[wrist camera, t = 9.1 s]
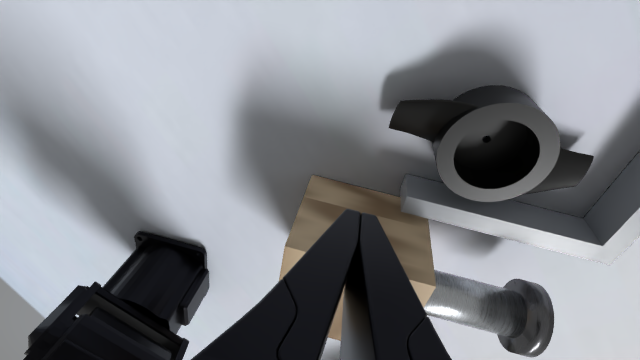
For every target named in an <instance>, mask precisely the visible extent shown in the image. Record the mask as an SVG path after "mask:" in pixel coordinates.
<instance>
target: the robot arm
mask: <svg viewBox="0 0 640 360" xmlns="http://www.w3.org/2000/svg"><path fill="white" fill-rule="evenodd" d="M134 238H135V243H136V248H137V249H136V250H135V251H134V252H133V253H132V254H131V256H130V257H129V258H128V259H127V260H126V261H125V262H124V264H123V265H122V266H121V267H120V268H119V269H118V270H117V271H116V273H115V274H114V275H113V276H112V277H111V278H110V279H109V281H108V282H107V283H106V284H105V285H104V286H103V287H101V285H100V284H99V283H97V282H94V283H93V284H92V285H91V287H90V288H89V287H88V286H87V287H85V286H79V285H78V286H77V287H76V288H75V289H74V290H73V291H72V292H71V293H70V295H69V296H68V297H67V298H66V299H65V300H64V301H63V302H62V303H61V304H60V305H59V306H58V307H57V308H56V309H55V310H54V311H53V312H52V313H51V314H50V315H49V316H48V317H47V318H46V319H45V320H44V321H43V322H42V323H41V324H40V325H39V326H38V327H37V328H36V329H35V330H34V331H33V332H32V333H31V334H30V335H29V336H28V346H29V349H28V350H27V351H26V352H25V353H24V354H26V355H27V356H26V357H25V358H24V359H23V360H182V359H183V357H184V354H185V352H186V349H187V346H188V344H189V341H188V340H187V339H185V338H181V337H180V336H178V335H176V334H177V332H178V330H179V329H180V327H181V325H184V326H186V325H188V324H189V323H190V321H191V319H192V318H193V316H194V314H195V312H196V311H197V309H198V307H199V305H200V303H201V302H202V300H203V298H204V296H206V294H207V292H208V289H209V271H208V269H207V253H206V251H205V250H204V249H203V248H200V247H197V246H193V245H189V244H186V243H182V242H178V241H174V240H171V239H167V238H163V237H160V236H156V235H152V234H149V233H145V232H141V231H139V232H137V234H136V235H135V236H134ZM344 286H345V287H344ZM343 289H344V296H343V313H342V330H341V347H340V360H452V359H451V358H450V356H449V354H448V353H447V351H446V349H445V347H444V345H443V344H442V342H441V340H440V338H439V336H438V334H437V333H436V331H435V329H434V327H433V325H432V323H431V321H430V319H429V317H427V313H426V311H425V310H424V308H423V306H422V304H421V302H420V300H419V298H418V296H417V294H416V292H415V290H414V288H413V286H412V284H411V282H410V280H409V278H408V276H407V274H406V272H405V271H404V269H403V267H402V265H401V263H400V261H399V259H398V257H397V255H396V253H395V251H394V249H393V247H392V245H391V243H390V241H389V239H388V237H387V235H386V234H385V232H384V230H383V228H382V226H381V224H380V222H379V220H378V218H377V216H376V215H373V214H368V213H364V212H363V213H360V212H359V211H356V210H352V209H346V210H344V211H343V213H342V214H341V215H340V216H339V217H338V218H337V219H336V220H335V221H334V222H333V223H332V225H331V226H330V227H329V228H328V229H327V230H326V231H325V232H324V233H323V234H322V235H321V237H320V238H319V239H318V240H317V241H316V242H315V243H314V244H313V245H312V246H311V247H310V249H309V250H308V251H307V252H306V253H305V254H304V255H303V256H302V257H301V258H300V259H299V260H298V262H297V263H296V264H295V265H294V266H293V267H292V268H291V269H290V270H289V271H288V272H287V274H286V275H285V276H284V277H283V279H281V280H280V281H279V282H278V283H277V284H276V285H275V286H274V287H273V289H272V290H271V291H270V292H269V293H268V294H267V295H266V296H265V297H264V298H263V299H262V300H261V301H260V302H259V303H258V304H257V305H255V306H254V307H253V308H252V309H251V310H250V311H249V312H247V313H246V314H245V315H244V316H243V317H242V318H241V319H239V320H238V321H237V322H236V323H235V324H233V325H232V326H231V327H230V328H229V329H227V330H226V331H225V332H224V333H223V334H221V335H220V336H219V337H218V338H217V339H215V340H214V341H213V342H212V343H210V344H209V345H208V346H207V347H206V348H204V349H203V350H202V351H201V352H200V353H198V354H197V355H196V356H195V357H193V358H192V359H191V360H320V359H321V356H322V353H323V350H324V347H325V344H326V341H327V338H328V335H329V332H330V329H331V326H332V323H333V320H334V317H335V314H336V311H337V308H338V305H339V302H340V299H341V296H342V293H343ZM76 314H77V315H79V317H76V316H75V315H76Z"/></svg>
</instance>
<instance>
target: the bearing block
mask: <svg viewBox="0 0 640 360" xmlns="http://www.w3.org/2000/svg"><path fill="white" fill-rule="evenodd" d="M346 209H352V210H356V211H359V212H360V213H363V212H364V213H368V214H373V215H376V216H377V218H378V220H379V222H380V224H381V226H382V228H383V230H384V232H385V234H386V235H387V237H388V239H389V241H390V243H391V245H392V247H393V249H394V251H395V253H396V255H397V257H398V259H399V261H400V263H401V265H402V267H403V269H404V271H405V272H406V274H407V276H408V278H409V280H410V282H411V284H412V286H413V288H414V290H415V292H416V294H417V296H418V298H419V300H420V302H421V304H422V306H423V308H424V306H425V305H426V303H427V301H428V300H429V298H430V296H431V295H432V293H433V291H434V290H435V288H436V282H435V273H434V265H433V257H432V249H431V241H430V232H429V224H428V218H424V217H420V216H416V215H412V214H408V213H404V212H401V197H397V196H393V195H390V194H386V193H382V192H378V191H374V190H370V189H366V188H362V187H358V186H354V185H350V184H347V183H343V182H339V181H335V180H331V179H327V178H323V177H319V176H315V175H312V176H311V179H310V181H309V184H308V187H307V189H306V192H305V194H304V197H303V200H302V202H301V205H300V208H299V210H298V213H297V215H296V218H295V221H294V223H293V226H292V229H291V231H290V234H289V237H288V239H287V242H286V244H285V248H284V254H283V260H282V266H281V272H280V278H279V281H280V280H281V279H283V277H284V276H285V275H286V274H287V272H288V271H289V270H290V269H291V268H292V267H293V266H294V265H295V264H296V263H297V262H298V260H299V259H300V258H301V257H302V256H303V255H304V254H305V253H306V252H307V251H308V250H309V249H310V247H311V246H312V245H313V244H314V243H315V242H316V241H317V240H318V239H319V238H320V237H321V235H322V234H323V233H324V232H325V231H326V230H327V229H328V228H329V227H330V226H331V225H332V223H333V222H334V221H335V220H336V219H337V218H338V217H339V216H340V215H341V214H342V213H343V211H344V210H346ZM344 287H345V286H344ZM343 296H344V289H343V293H342V296H341V299H340V302H339V305H338V308H337V311H336V314H335V317H334V320H333V323H332V326H331V329H330V332H329V335H328V337H329V338H332V339H336V340H340V341H341V330H342V313H343Z"/></svg>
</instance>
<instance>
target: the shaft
mask: <svg viewBox="0 0 640 360" xmlns="http://www.w3.org/2000/svg"><path fill="white" fill-rule="evenodd" d="M434 273H435V282H436V288H435V290H434V291H433V293H432V295H431V296H430V298H429V300H428V301H427V303H426V305H425V306H424V310H425V311H426V313H427V315H429V316H433V317H436V318H440V319H444V320H447V321H451V322H455V323H458V324H462V325H466V326H469V327H473V328H477V329H480V330H484V331H488V332H491V333H495V334H497V335H498V338H499V340H500V342H501V344H502V346H503V347H504V348H505V349H506V350H508V351H509V352H512V353H516V354H519V355H523V356H527V357H536V356H538V355H540V354H541V353H542V352H543V351H544V350H545V349H546V348H547V346H548V344H549V342H550V340H551V337H552V333H553V328H554V311H553V306H552V302H551V299H550V297H549V295H548V293H547V292H546V290H545V289H544V288H543V287H542V286H540V285H539V284H536V283H533V282H529V281H525V280H521V279H513V280H511V281H509V282H508V283H507V284H506V285H505V286H504V287H503V288H501V287H498V286H494V285H490V284H486V283H483V282H479V281H475V280H471V279H468V278H464V277H460V276H456V275H453V274H449V273H445V272H441V271H437V270H434Z"/></svg>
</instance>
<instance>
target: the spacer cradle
mask: <svg viewBox="0 0 640 360" xmlns="http://www.w3.org/2000/svg"><path fill="white" fill-rule="evenodd" d="M400 197H401V212H404V213H408V214H412V215H416V216H420V217H424V218H428V219H432V220H435V221H439V222H443V223H447V224H451V225H455V226H459V227H463V228H466V229H470V230H474V231H478V232H482V233H486V234H490V235H494V236H497V237H501V238H505V239H509V240H513V241H517V242H521V243H525V244H528V245H532V246H536V247H540V248H544V249H548V250H552V251H556V252H559V253H563V254H567V255H571V256H575V257H579V258H583V259H587V260H590V261H594V262H598V263H602V264H606V265H611V264H612V263H613V262H614V261H615V260H616V259H617V258H618V257H619V256H620V255H621V254H622V253H623V252H624V251H625V250H626V249H627V248H628V247H630V246H631V245H632V244H633V243H634V242H635V241H636V240H637V239H638V238H639V237H640V151H639V153H638V154H637V155H636V156H635V157H634V159H633V160H632V161H631V162H630V163H629V164H628V166H627V167H626V168H625V169H624V170H623V172H622V173H621V174H620V175H619V176H618V178H617V179H616V180H615V181H614V182H613V183H612V185H611V186H610V187H609V188H608V189H607V191H606V192H605V193H604V194H603V195H602V196H601V198H600V199H599V200H598V201H597V202H596V204H595V205H594V206H593V207H592V208H591V210H590V211H589V212H588V213H587V214H586V215H585V217H584V218H580V217H576V216H572V215H568V214H564V213H560V212H556V211H552V210H548V209H544V208H540V207H536V206H532V205H528V204H524V203H520V202H516V201H512V200H508V199H507V200H503V201H496V202H481V201H474V200H470V199H467V198H464V197H462V196H460V195H458V194H456V193H454V192H453V191H452V190H450V189H449V188H448V187H447V186H446V185H445V184H444V183H441V182H437V181H433V180H429V179H425V178H421V177H417V176H413V175H409V174H406V175H405V178H404V180H403V183H402V185H401V188H400Z"/></svg>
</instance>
